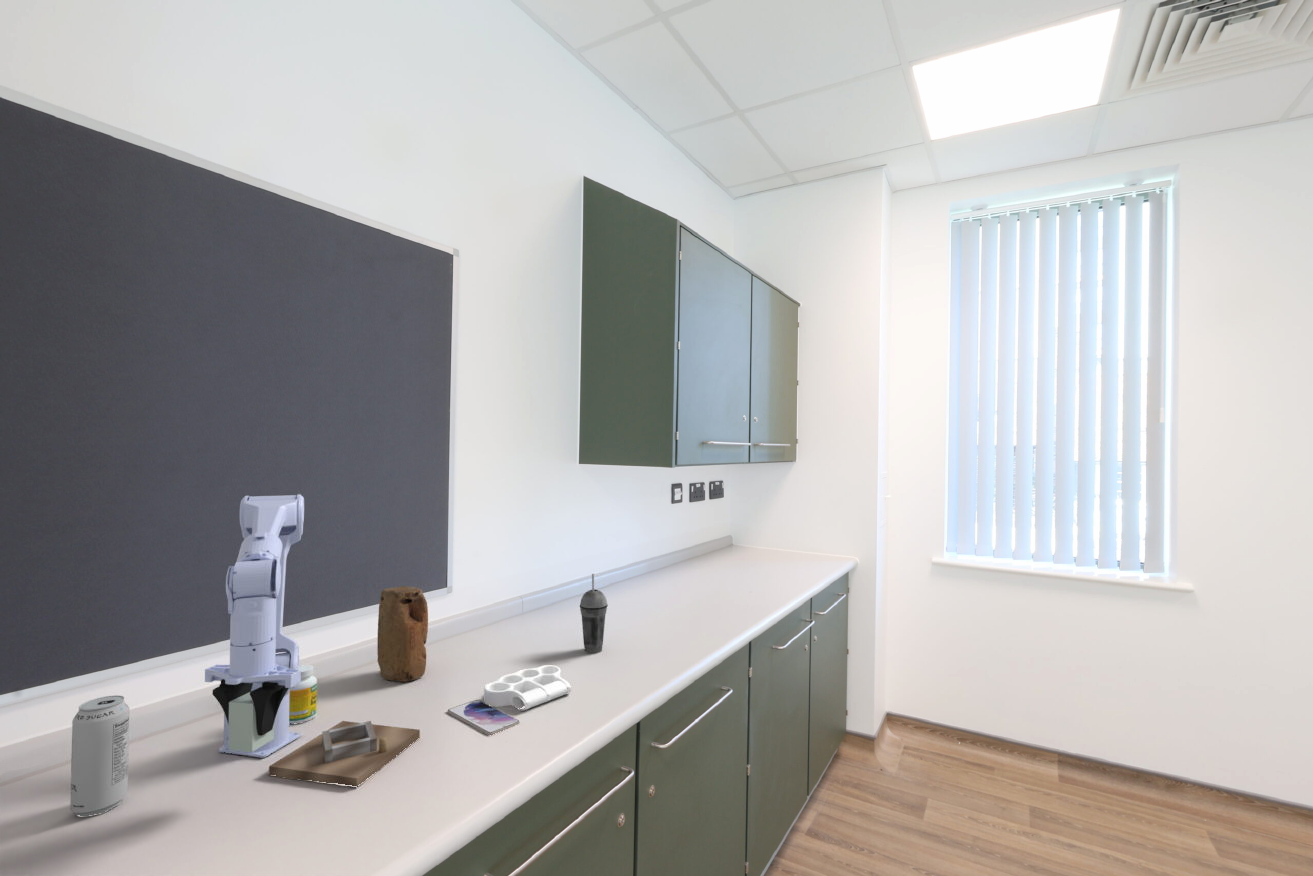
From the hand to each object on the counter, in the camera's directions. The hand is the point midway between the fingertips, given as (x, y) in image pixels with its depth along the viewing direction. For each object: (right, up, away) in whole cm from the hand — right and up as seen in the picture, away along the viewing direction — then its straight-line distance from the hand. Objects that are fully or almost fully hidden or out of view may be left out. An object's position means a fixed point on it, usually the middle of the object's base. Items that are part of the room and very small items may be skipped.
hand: (251, 731), depth 89 cm
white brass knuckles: (+34, -11, +37) cm, 51 cm away
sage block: (0, -2, 0) cm, 2 cm away
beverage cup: (+45, -11, +64) cm, 79 cm away
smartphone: (+27, -11, +25) cm, 39 cm away
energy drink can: (-20, -9, -3) cm, 22 cm away
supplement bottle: (-8, -10, +25) cm, 28 cm away
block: (+3, -11, +46) cm, 47 cm away
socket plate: (+9, -10, +11) cm, 17 cm away
